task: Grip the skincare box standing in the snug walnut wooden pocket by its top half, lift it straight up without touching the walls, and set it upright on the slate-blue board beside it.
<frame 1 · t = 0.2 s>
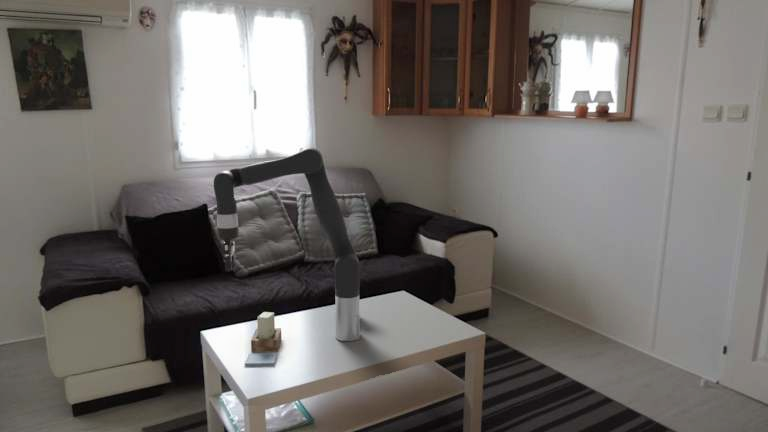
hand: (229, 267, 209), 28 cm above the table, tool pointing down, fingers open, 8 cm apart
pocket block: (266, 345, 209), on the table
skincare box: (266, 346, 209), resting in pocket block
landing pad: (261, 360, 196), on the table
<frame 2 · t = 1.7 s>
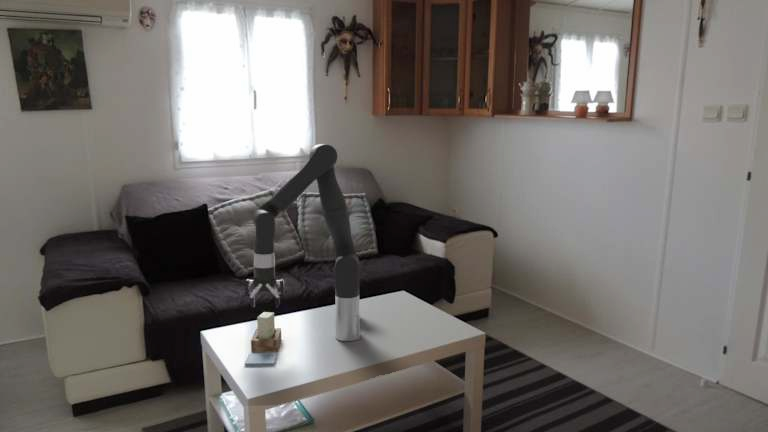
hand: (265, 306, 206), 15 cm above the table, tool pointing down, fingers open, 8 cm apart
nothing on the table moved.
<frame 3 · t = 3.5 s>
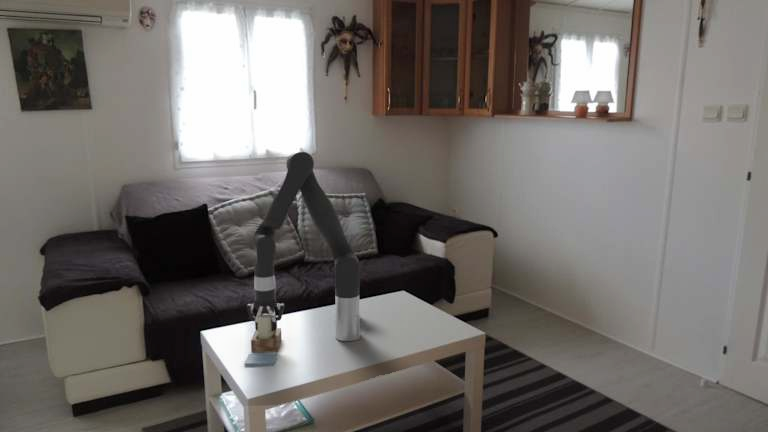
hand: (266, 330, 208), 6 cm above the table, tool pointing down, fingers closed on skincare box, 5 cm apart
skincare box: (266, 346, 209), resting in pocket block, touching gripper
everything else where it was.
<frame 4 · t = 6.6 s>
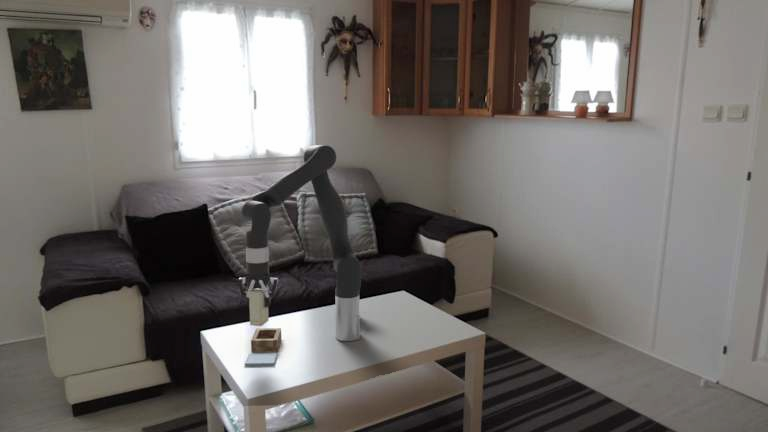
hand: (258, 306, 193), 20 cm above the table, tool pointing down, fingers closed on skincare box, 5 cm apart
skincare box: (259, 323, 195), point 13 cm above the table, touching gripper
everything else where it was.
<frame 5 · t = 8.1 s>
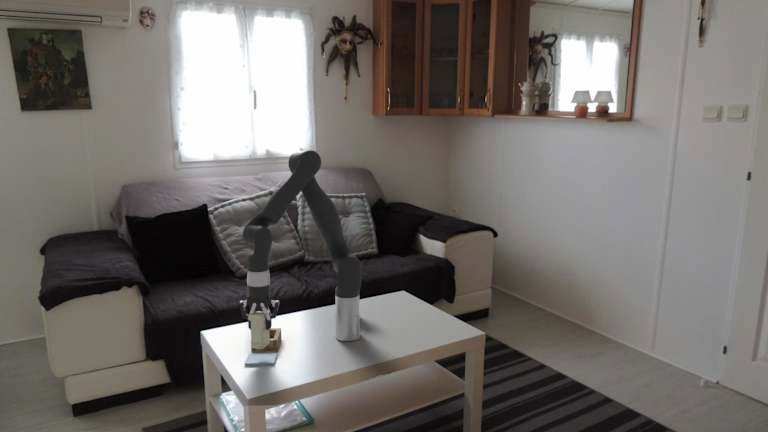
hand: (260, 329, 194), 12 cm above the table, tool pointing down, fingers closed on skincare box, 5 cm apart
skincare box: (260, 345, 195), point 6 cm above the table, touching gripper
everything else where it was.
when the fingers open (8 cm above the table, at t = 9.6 s): skincare box drops 1 cm, resting on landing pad.
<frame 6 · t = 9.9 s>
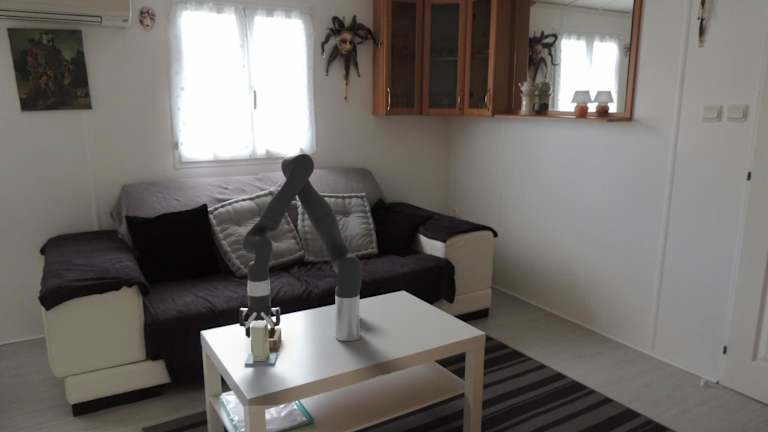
hand: (260, 336, 195), 9 cm above the table, tool pointing down, fingers open, 7 cm apart
skincare box: (261, 358, 196), point 1 cm above the table, touching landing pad
everything else where it was.
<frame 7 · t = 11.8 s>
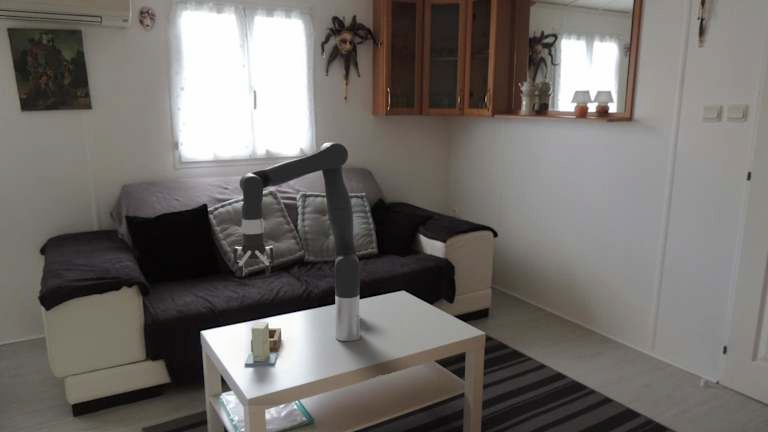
hand: (255, 275, 200), 28 cm above the table, tool pointing down, fingers open, 8 cm apart
nothing on the table moved.
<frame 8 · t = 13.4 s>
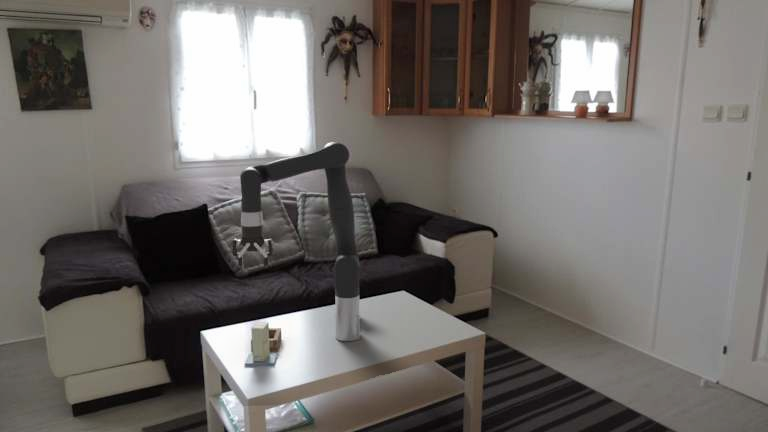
hand: (253, 267, 204), 30 cm above the table, tool pointing down, fingers open, 8 cm apart
nothing on the table moved.
at the end: skincare box inside the target area on the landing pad (0.2 cm from its centre), point 0.8 cm above the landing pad's base; skincare box tilted 0°; the gripper is holding nothing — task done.
